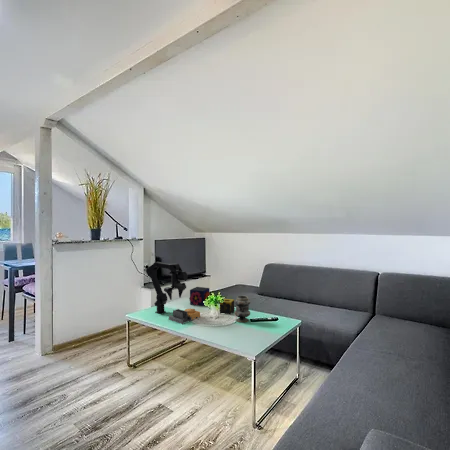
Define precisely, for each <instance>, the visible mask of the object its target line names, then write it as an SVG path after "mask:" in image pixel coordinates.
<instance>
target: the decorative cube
mask: <svg viewBox="0 0 450 450" xmlns="http://www.w3.org/2000/svg"><path fill="white" fill-rule="evenodd" d="M209 295H210V296H211V293H210V287H203V286H202V287H201V286H196V287H193V288H191V289H189V304H190V306H198V307H199V306H200V307H201V306H202V307H204V306H205V305H204V303H203V301H204V300H205V299H206V298H207V297H208V296H209Z"/></svg>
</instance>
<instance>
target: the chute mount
mask: <svg viewBox="0 0 450 450" xmlns="http://www.w3.org/2000/svg"><path fill="white" fill-rule="evenodd" d="M168 320H170V321H172V322H175V323H178V324H180V325H183V324H186V323H188V322H192V321H193V319H192V317H190V316H187V320H185V321H183V319H180V318H177V317H174V316H173V315H168Z"/></svg>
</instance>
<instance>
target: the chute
mask: <svg viewBox="0 0 450 450" xmlns="http://www.w3.org/2000/svg"><path fill="white" fill-rule="evenodd" d="M172 316H174V317H177V318H180V319H183V321H185V320H187V311H185V310H183V309H179V308H177V309H173V311H172Z"/></svg>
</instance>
